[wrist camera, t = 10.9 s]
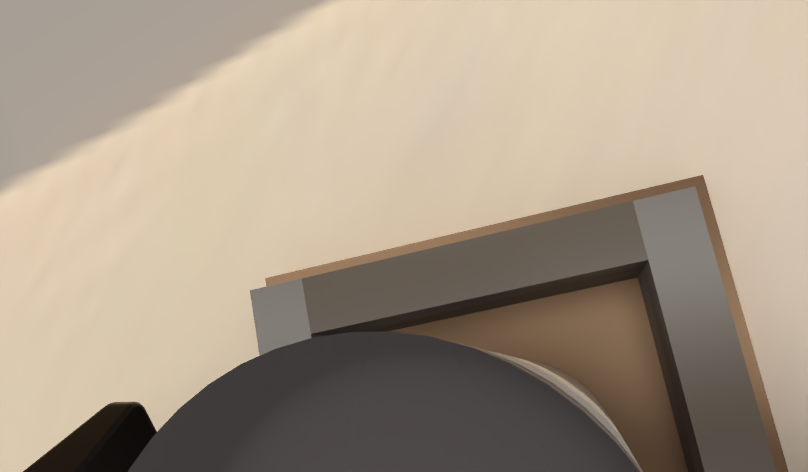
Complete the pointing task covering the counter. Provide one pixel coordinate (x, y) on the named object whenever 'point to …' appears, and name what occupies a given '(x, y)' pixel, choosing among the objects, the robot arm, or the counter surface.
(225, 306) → the counter surface
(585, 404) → the brushed metal canister
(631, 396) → the socket
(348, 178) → the counter surface
